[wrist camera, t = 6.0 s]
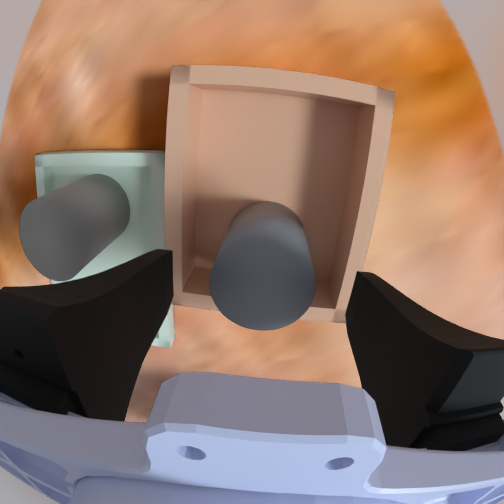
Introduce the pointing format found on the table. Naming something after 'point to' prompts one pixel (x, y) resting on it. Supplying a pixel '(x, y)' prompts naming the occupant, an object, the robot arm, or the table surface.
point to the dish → (273, 170)
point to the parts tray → (139, 196)
